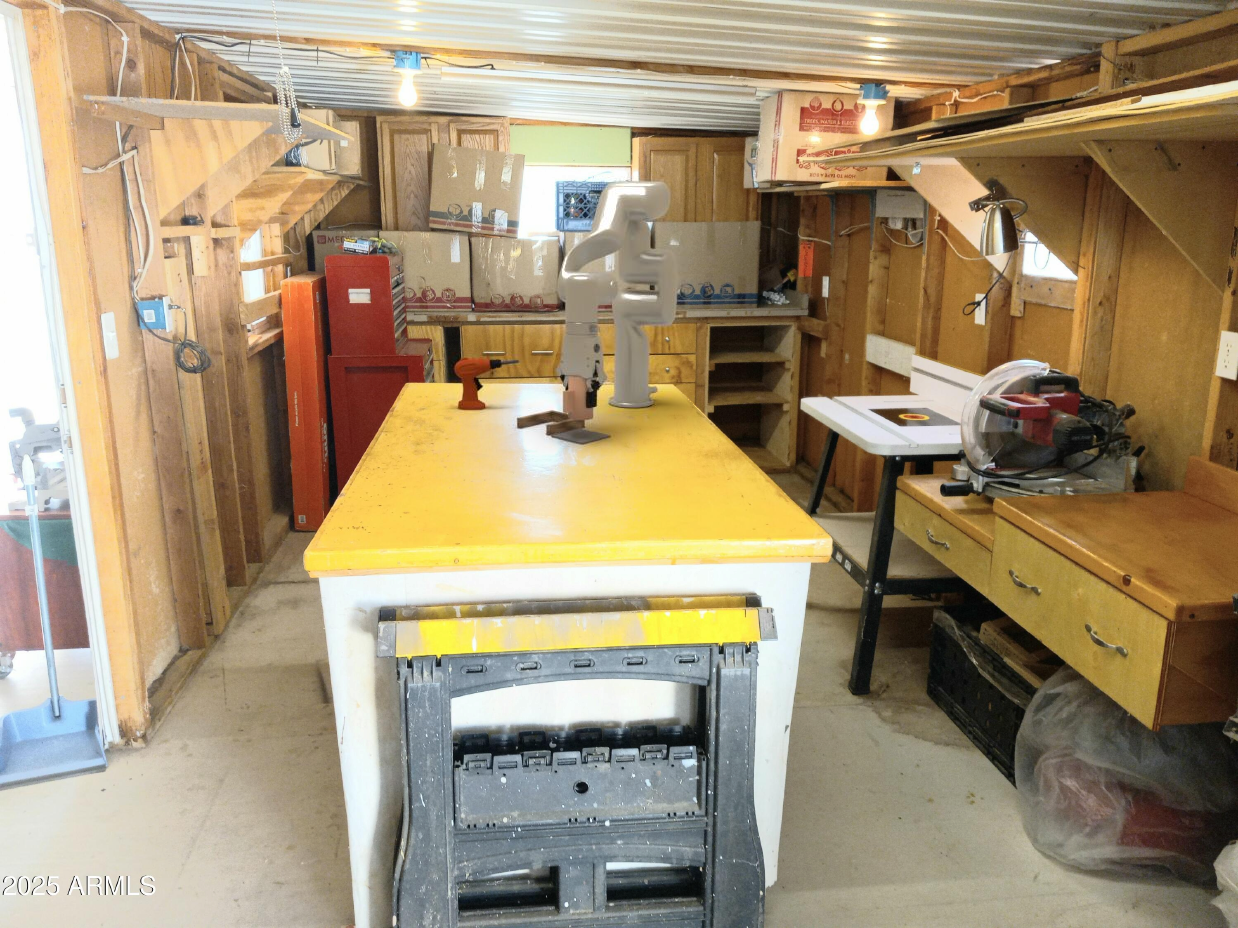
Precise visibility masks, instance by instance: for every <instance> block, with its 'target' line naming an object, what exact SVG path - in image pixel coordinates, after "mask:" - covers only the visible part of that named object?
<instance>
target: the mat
mask: <svg viewBox="0 0 1238 928" xmlns="http://www.w3.org/2000/svg"><path fill="white" fill-rule="evenodd" d="M550 436H551V438H555V439H557V440H561V441H562V440H563V441H566V442H571V443H574V444H579V445H585V444H589V443H592V442H596V441H601V440H604V439H609V438H610V437H611V435H610V434H606V433H600V432H598V431H594V430H588V429H583V428H579V429H575V430H571V431H566V432H562V433H558V434H554V435H550Z"/></svg>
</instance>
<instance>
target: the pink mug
mask: <svg viewBox="0 0 1238 928" xmlns="http://www.w3.org/2000/svg"><path fill="white" fill-rule="evenodd" d="M591 382H592V385H593V380H592V381H591ZM587 391H588V387H587V384H586V379H584V378H579V377H573V376H568V390H567V391H565V390H563V391H562V412H563V413H567V414H568V418H569V419H573V420H585V421H589V420H593V419H594V407H593V408H586V392H587Z"/></svg>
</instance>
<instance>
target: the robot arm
mask: <svg viewBox="0 0 1238 928" xmlns="http://www.w3.org/2000/svg"><path fill="white" fill-rule="evenodd" d="M671 198H672V197H671V191H670V189H669V186H668V184H666V183H665V182H663V181H645V180H644V181H638V180H622V181H621V180H619V181H613V182H610V183H608V184H607V185H606V186H605V188H604V189H603V190H602V191H601V192H600V195H599V199H598V202H597V206H596V211H595V214H594V217H593V221H592V225H591V228H590V232H589V234H588V235H586V236H585V237H583V238H582V239H581V240H579V241H578V242H577V243H576V244H575V245H574V246H573V247H572V248H571V249H570V250H568V252H567V253H566V255H565V256H564V258H563V261H562V265H561V268H560V271H559V275H558V278H557V284H556V286H557V287H556V290H557V291H556V293H557V296H558V297H559V299H560V300H561V301H562V302H564V303H565V316H564V317H565V320H564V321H565V322H564V323H565V333H564V335H563V338H562V345H561V354H560V355H561V356H560V357H561V358H560V363H559V365H558V366H557V367H556V368H555V372H556V374H557V375H558V377H559V379H560V381H561V382H562V386H563V388H565V389H564V391H567V390H568V376H573V377H579V378H584V379H586V384H587V387H588V391H587V392H586V408H593V409H594V408H596V407H598V391H599V390H600V388H601V387H602V386H603V385H604V383H605V382H606V381H607V380H608V375H607V374H606V373H605V368H604V367H605V366H604V365H605V363H604V349H603V343H602V339H601V336H600V335H598V334H599V332H600V331H601V327H600V326H598V325H599V322H598V321H599V320H598V319H599V318H598V317H599V306H606V305H610V304H611V308H612V316H613V323H614V380H613V382H614V390H613V391H614V392H613V395H614V396H611V397H609V398H608V404H609V403H610V404H609V405H611V406H614V407H618V408H629V409H630V408H634V409H635V408H645V407H650V405H651V406H652V405H653V404H654V399H653V398H652V397H651V394H656V393H658V390H659V389H658V387H657V386H655V385H654V386H650V385H649V380H650V379H649V378H650V377H649V375H650V373H649V372H650V371H649V370H650V340H649V337H648V334H647V333H646V331H645V330H644V328H643V326H649V327H650V326H651V327H653V326H654V327H668V326H670V325H672V324H673V323H674V321H675V320H676V313H677V303H678V302H677V300H678V298H677V297H678V295H677V294H678V293H677V292H678V291H677V290H678V262H677V258H676V255H675V253H673V251H672V250H669V249H666V248H665V249H663V248H652V247H651V228H650V226H649V223H648V222H651V221H654V220H657V219H659V218H661V217H663V216H665V214H667V212H668V211H669V208H670V205H671ZM615 253H618V254H617V255H618V258H617V259H618V263H617V265H618V266H617V267H618V270H617V271H618V277H619V279H620V281H622V282H623V283H625V284H628V285H629V284H630V285H641V286H642V285H645V286H647V285H648V286H656V287H657V288H658V289H657V290H653V289H641V288H640V289H637V288H627V289H622V290H619V287H618V286H619V285H618V282H617V281H618V280H617V279H616V278H615V277H614V276H613V275H612V274H610V273H607V272H595V271H594V272H593V271H580V270H581V269H583V268H584V267H585V266H587V265H588V264H589V263H591V262H594V261H596V260H600V259H602V258H605V257H607V256H610V255H612V254H615ZM592 380H593V385H592V382H591V381H592Z"/></svg>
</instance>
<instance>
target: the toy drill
mask: <svg viewBox="0 0 1238 928" xmlns="http://www.w3.org/2000/svg"><path fill="white" fill-rule="evenodd" d="M518 363H520V360H519V359H511V360H501V359H499V358H497V359H489V358H484V357H479V358H475V357H473V358H468V357H466V356H465V357H461V358H460V360H459V361H458V362H456V364H455V365H454V369H453V370H454V373H455V375H456V376H457V377H458V378H460V379H461V384H462V395H461V399H460V400H459V401H458V403H457V408H458V409H459V410H464V411H467V410H468V411H469V410H470V411H478V410H479V411H480V410H485V409H486V403H485V402H483V401H482V400H479V395H478V394H479V391H481V390H482V389H483V387H484V384H482V383H481V382H480V380H479V379H480V378H478V376H481V375H483V374H486V373H488V372H489V371H490V372H491V371H492V370H496V369H500V368H502V366H504V365H505V366H507V365H511V364H518Z"/></svg>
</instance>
